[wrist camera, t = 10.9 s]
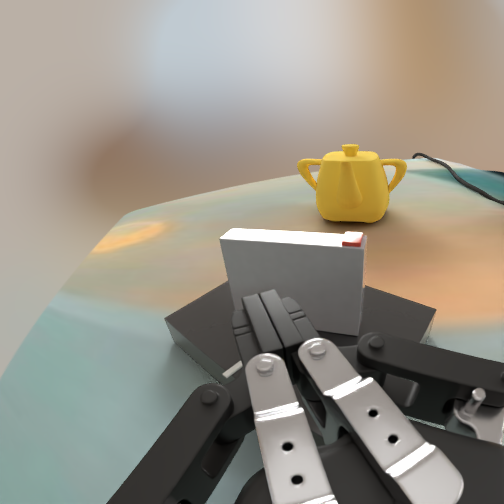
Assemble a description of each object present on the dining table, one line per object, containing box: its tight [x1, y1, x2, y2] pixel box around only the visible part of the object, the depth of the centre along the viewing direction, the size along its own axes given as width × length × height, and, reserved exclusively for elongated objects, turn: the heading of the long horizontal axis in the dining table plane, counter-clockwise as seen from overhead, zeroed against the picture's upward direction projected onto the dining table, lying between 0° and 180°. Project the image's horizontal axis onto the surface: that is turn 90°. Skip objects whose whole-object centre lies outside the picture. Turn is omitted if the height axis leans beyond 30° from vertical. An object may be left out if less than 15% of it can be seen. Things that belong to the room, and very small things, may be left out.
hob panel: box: [164, 281, 436, 446], centre depth 19 cm, size 16×13×3 cm
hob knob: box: [219, 228, 367, 336], centre depth 17 cm, size 8×2×6 cm, turn 64°
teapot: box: [297, 144, 407, 223], centre depth 38 cm, size 14×13×10 cm
